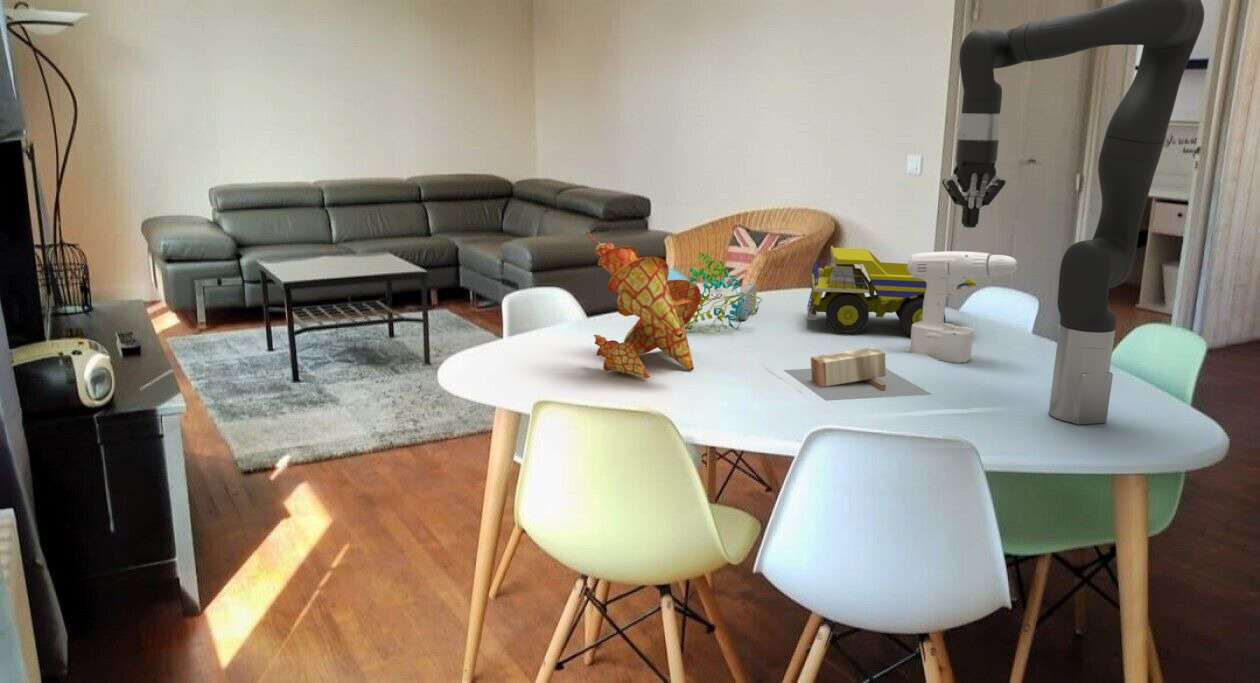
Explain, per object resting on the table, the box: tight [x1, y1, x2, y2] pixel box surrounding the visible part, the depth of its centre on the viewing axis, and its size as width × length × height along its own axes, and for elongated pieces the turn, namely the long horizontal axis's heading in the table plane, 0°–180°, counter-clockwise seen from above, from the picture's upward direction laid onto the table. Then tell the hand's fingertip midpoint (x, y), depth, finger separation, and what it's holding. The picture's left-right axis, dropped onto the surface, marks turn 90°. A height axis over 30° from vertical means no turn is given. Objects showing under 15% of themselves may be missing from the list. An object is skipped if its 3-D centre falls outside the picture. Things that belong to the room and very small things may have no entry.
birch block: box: [810, 346, 887, 387], centre depth 192 cm, size 5×5×14 cm
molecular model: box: [685, 252, 763, 334], centre depth 239 cm, size 23×21×15 cm
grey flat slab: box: [736, 281, 757, 321], centre depth 259 cm, size 20×2×8 cm, turn 163°
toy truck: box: [806, 245, 977, 337], centre depth 243 cm, size 24×40×20 cm, turn 81°
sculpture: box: [585, 230, 702, 379], centre depth 205 cm, size 33×28×35 cm
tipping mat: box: [783, 368, 932, 401], centre depth 193 cm, size 22×22×2 cm
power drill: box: [907, 250, 1018, 363], centre depth 213 cm, size 8×24×25 cm, turn 51°
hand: (969, 227), depth 185 cm, fingers closed
